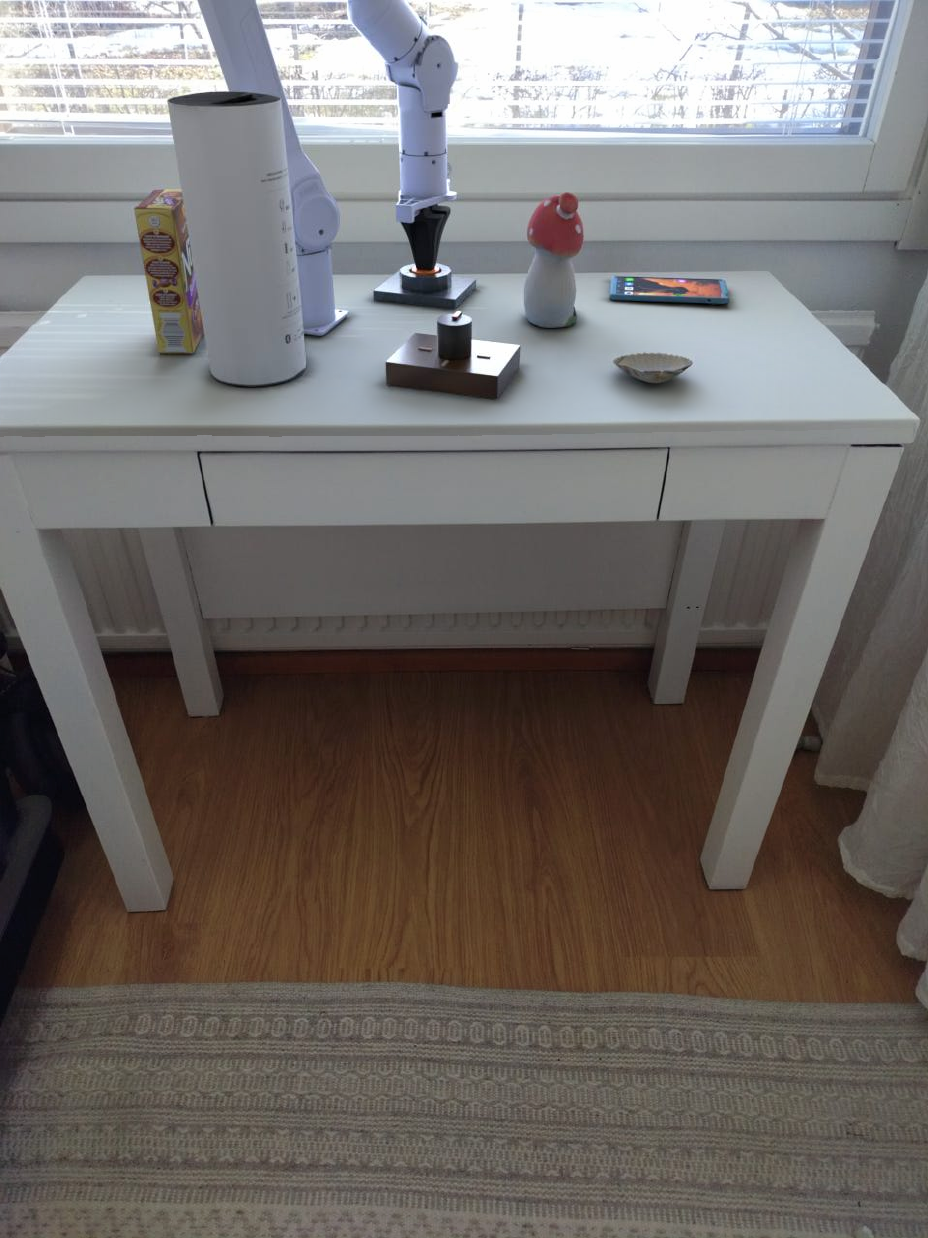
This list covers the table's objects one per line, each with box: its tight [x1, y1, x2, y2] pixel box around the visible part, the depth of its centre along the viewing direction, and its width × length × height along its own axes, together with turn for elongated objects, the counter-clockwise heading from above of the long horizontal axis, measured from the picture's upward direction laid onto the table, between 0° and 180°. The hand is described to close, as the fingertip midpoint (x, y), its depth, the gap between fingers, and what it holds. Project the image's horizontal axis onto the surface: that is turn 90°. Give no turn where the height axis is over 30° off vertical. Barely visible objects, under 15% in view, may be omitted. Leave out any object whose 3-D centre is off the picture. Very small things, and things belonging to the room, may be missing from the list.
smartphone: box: [608, 275, 730, 306], centre depth 120 cm, size 8×1×15 cm
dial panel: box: [384, 332, 521, 401], centre depth 97 cm, size 12×9×3 cm
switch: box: [411, 266, 439, 275], centre depth 118 cm, size 4×4×2 cm
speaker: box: [166, 90, 307, 388], centre depth 91 cm, size 11×10×26 cm
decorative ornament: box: [523, 192, 585, 329], centre depth 107 cm, size 9×6×15 cm
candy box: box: [133, 188, 204, 355], centre depth 101 cm, size 9×4×15 cm, turn 2°
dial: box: [436, 310, 473, 359], centre depth 95 cm, size 4×4×4 cm
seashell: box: [612, 352, 693, 384], centre depth 97 cm, size 8×3×8 cm
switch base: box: [372, 263, 477, 310], centre depth 119 cm, size 11×9×3 cm
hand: (425, 268), depth 118 cm, fingers closed, pressing on switch
